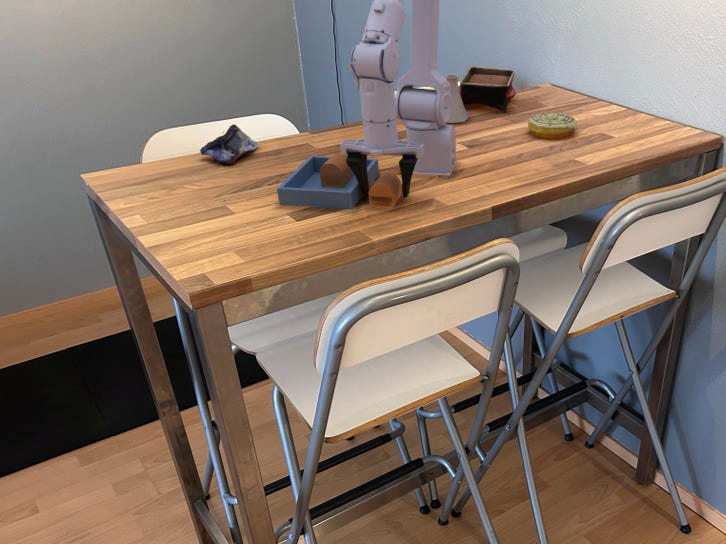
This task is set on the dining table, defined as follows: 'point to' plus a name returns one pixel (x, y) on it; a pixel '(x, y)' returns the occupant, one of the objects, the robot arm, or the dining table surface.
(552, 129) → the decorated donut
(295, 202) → the tray
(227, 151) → the snack package
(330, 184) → the cylinder
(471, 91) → the square planter pot
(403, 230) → the dining table surface
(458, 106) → the flask
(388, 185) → the bread roll
